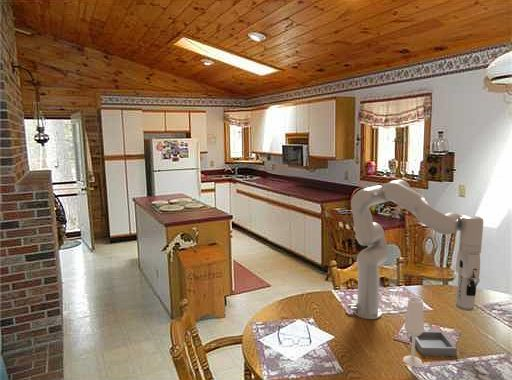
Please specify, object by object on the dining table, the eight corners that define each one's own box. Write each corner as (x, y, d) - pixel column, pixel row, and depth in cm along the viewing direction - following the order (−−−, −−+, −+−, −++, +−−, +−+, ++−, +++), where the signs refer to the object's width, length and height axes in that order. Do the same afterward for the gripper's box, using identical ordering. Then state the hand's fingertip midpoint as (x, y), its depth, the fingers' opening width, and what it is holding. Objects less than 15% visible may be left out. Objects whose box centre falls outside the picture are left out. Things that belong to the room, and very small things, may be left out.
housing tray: (421, 355, 147) (421, 347, 147) (409, 337, 160) (410, 330, 160) (456, 355, 146) (456, 348, 146) (441, 338, 159) (442, 331, 159)
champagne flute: (408, 353, 148) (411, 294, 145) (425, 361, 143) (429, 299, 140) (399, 360, 144) (402, 299, 140) (416, 368, 139) (420, 305, 135)
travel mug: (471, 305, 155) (476, 257, 152) (475, 312, 149) (480, 262, 146) (454, 302, 157) (458, 255, 154) (457, 309, 151) (461, 260, 148)
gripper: (450, 241, 158) (447, 283, 160) (471, 254, 141) (467, 301, 143) (468, 241, 157) (465, 283, 160) (492, 254, 140) (488, 301, 143)
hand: (466, 291), depth 152 cm, fingers closed on travel mug, 6 cm apart
